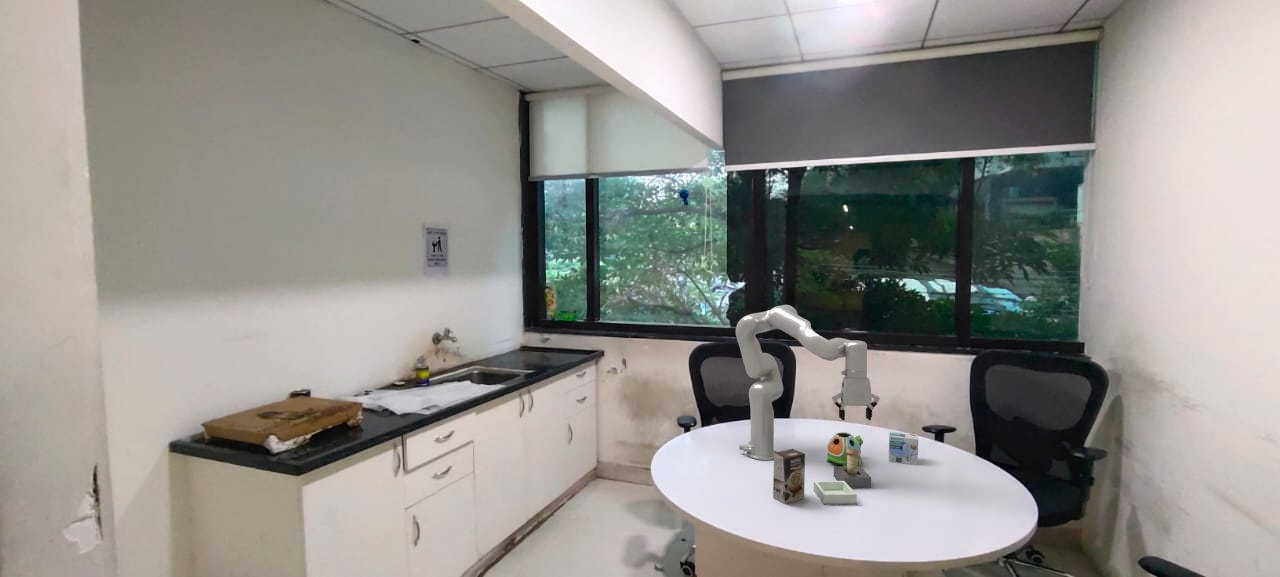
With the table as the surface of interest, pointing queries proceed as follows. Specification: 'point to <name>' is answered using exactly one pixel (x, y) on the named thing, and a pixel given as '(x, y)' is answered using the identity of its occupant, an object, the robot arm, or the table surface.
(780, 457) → the coffee box
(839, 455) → the turtle holder
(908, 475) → the table surface
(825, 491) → the tray
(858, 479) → the hitch block
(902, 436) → the light bulb box
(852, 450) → the pin
